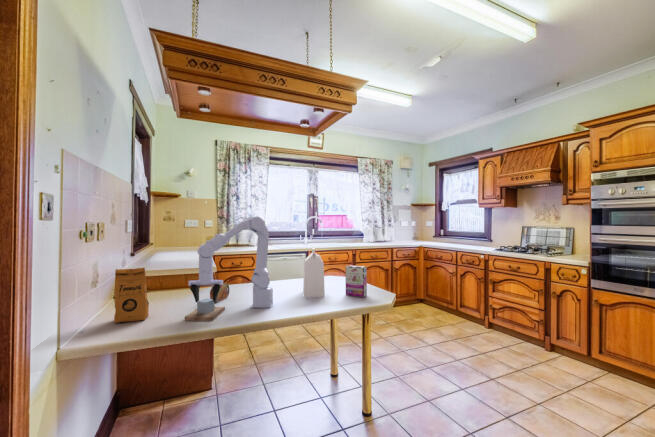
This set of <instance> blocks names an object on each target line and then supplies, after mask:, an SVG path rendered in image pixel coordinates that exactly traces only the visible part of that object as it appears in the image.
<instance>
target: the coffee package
mask: <svg viewBox="0 0 655 437" xmlns="http://www.w3.org/2000/svg"><path fill="white" fill-rule="evenodd" d="M114 271H115V273H114V274H115V276H114V288H113V292H114V309H115V313H114V317H113V322H114V323H126V322H127V323H128V322H137V321H139V322H140V321H145V320H146V319H147V318H148V317H149V316H150V315H149V312H150V311H149V309H150V308H149V302H150V301H149V300H148V294H147V293H148V291H147V288H148V286H147V278H146V277H147V276H146V273H147V272H146V268H145V267H138V268H137V267H136V268H120V269H119V268H118V269H115V270H114Z"/></svg>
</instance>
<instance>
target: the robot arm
mask: <svg viewBox="0 0 655 437" xmlns="http://www.w3.org/2000/svg"><path fill="white" fill-rule="evenodd" d="M247 230H250V231H252V232H253V233H254V234H255V235H256V236H257V244H256V246H257V247H256V259H255V268H254V269H253V274H252V276H251V283H252V285H253V286H252V304H251V305H250V309H256V308H257V309H258V308H260V309H262V308H263V309H264V308H265V309H266V308H267V309H268V308H270V309H271V307H272V305H273V303H274V301H273V299H274V298H273V297H274V294H273V293H274V292H273V291H274V290H273V289H274V288H273V287H269V286H270V283H271V282H270V277H269V271H268V269H267V267H268V266H267V265H268V255H269V254H268V252H269V239H270V238H269V237H270V232H269V229H268V227H267V226H266V221H265V220H264V219H263V218H262V217H260V216H248V217H247V218H245V219H242V220H241V221H240V222H238V223H237V224H236V225H234V226H233V227H231V228H230V229H228V230H227V231H226V232H225V233H216V234H214V236H213V237H212V238H211V239H209V240H206V241H205V243H202V244H200V245H199V247H198V248H197V255H198V280H197V279H196V280H188V283H187V284H188V285H187V286H188V287H189V289H190V291H191V293H192V295H193V297H194V300H195V303H197V301H200V287H201V286H211V288H212V289H213V302H214V303H216V302H215V301H216V299H217V295H218V292H219V289H220V287H221V285H223V283H224V280H223V279H214V272H213V271H214V270H213V267H214V266H213V264H214V263H213V262H214V261H213V256H214V254H215V252H217V251H219V250H220V249H221V248H223V247H224V246H226V245H227V244H228V242H229V240H230V239H231V238H232V237H235V236H236V235H237V234H239V233H240V232H242V231H247Z"/></svg>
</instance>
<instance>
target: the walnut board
mask: <svg viewBox="0 0 655 437" xmlns="http://www.w3.org/2000/svg"><path fill="white" fill-rule="evenodd" d="M225 310H226V306H214V311H212V312H210V313H208V314H202V313H197V308H195V309H194V310H193V311H191V312H190V313H189V314H187V315H186V316H184V321H188V322H189V321H190V322H191V321H193V322H195V321H196V322H197V321H198V322H199V321H201V322H202V321H204V322H205V321H206V322H207V321H209V322H210V321H211V322H212V321H214V320H215V319H217V318H218V317H219V316H221V314H223V313H224V312H225Z"/></svg>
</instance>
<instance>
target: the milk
mask: <svg viewBox="0 0 655 437" xmlns="http://www.w3.org/2000/svg"><path fill="white" fill-rule="evenodd" d="M324 267H325V265H324V261H323V259H322V256H321V255H320V254H319V253H316V249H315V247H312V248H311V253H310V254H309V255H308V256H307V257H306V258H305V259H304V262H303V284H302V285H303V287H302V288H303V289H302V291H303V292H302V293H303V294H304V295H303V298H317V297H318V298H319V297H320V298H323V297H322V296H326V295H325V290H326V289H325V268H324Z"/></svg>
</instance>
